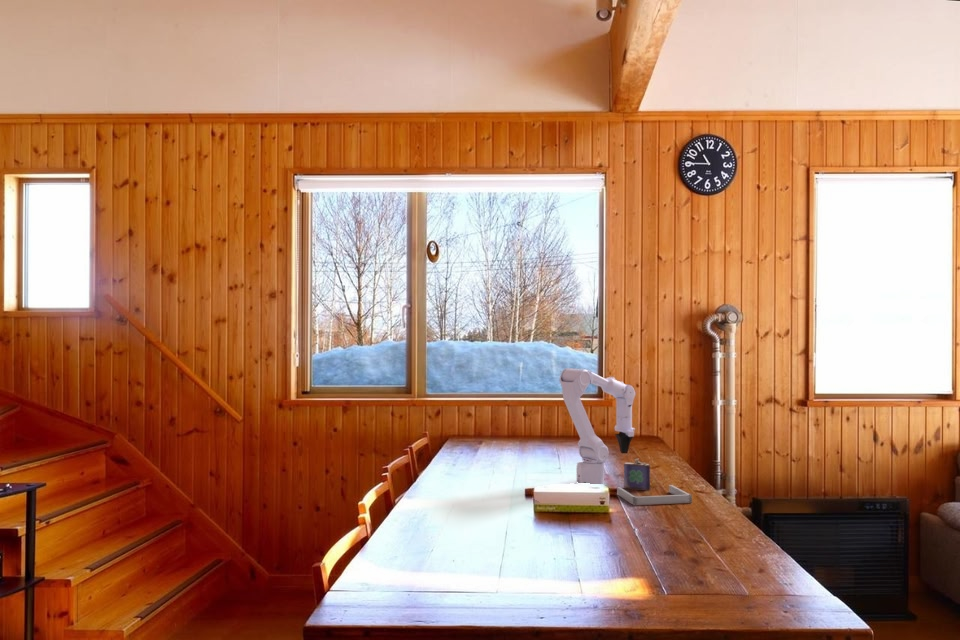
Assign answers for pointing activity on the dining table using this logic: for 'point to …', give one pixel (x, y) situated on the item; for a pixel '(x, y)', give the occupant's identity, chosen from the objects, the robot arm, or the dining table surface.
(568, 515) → the dining table surface
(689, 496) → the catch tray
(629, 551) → the dining table surface
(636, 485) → the flask
